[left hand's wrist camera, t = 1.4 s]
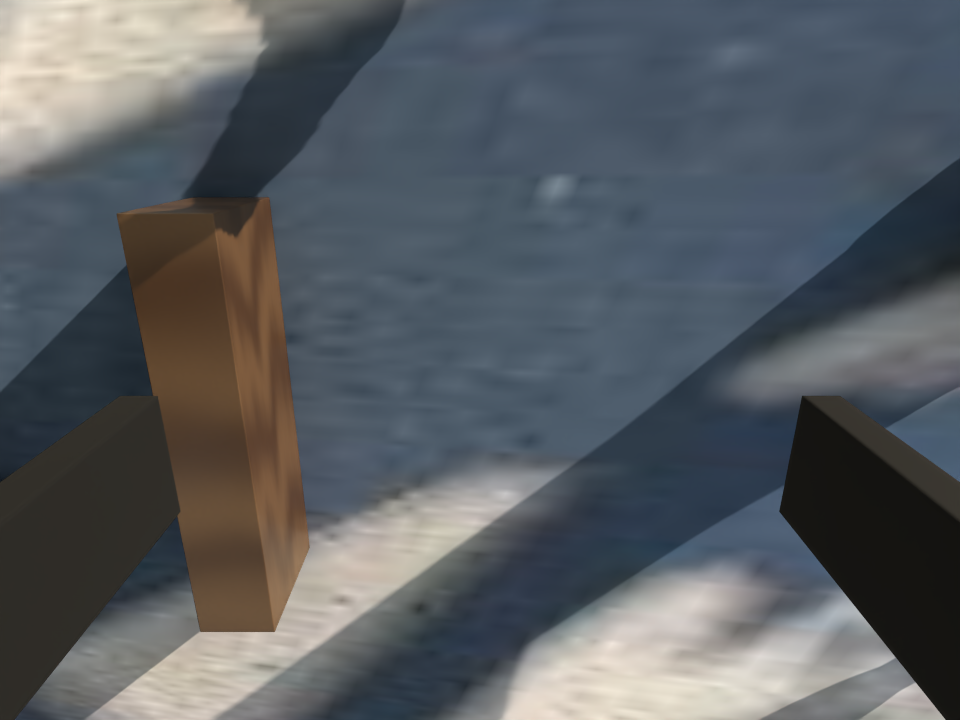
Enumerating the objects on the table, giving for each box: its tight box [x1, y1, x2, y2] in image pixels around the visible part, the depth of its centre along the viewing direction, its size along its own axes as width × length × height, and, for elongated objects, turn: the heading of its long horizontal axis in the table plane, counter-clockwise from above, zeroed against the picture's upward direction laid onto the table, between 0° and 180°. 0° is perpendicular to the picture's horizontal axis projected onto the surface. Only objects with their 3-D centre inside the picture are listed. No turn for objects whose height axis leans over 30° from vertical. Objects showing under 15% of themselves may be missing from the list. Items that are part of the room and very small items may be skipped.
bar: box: [117, 197, 310, 632], centre depth 40 cm, size 28×5×9 cm, turn 0°
